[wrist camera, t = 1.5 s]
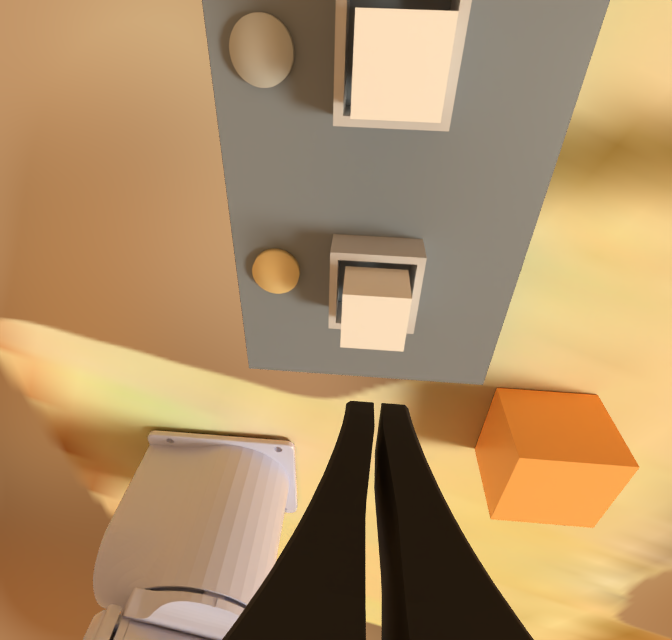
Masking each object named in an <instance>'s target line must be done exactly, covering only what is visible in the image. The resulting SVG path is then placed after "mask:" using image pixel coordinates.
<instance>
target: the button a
mask: <svg viewBox="0 0 672 640" xmlns="http://www.w3.org/2000/svg"><path fill="white" fill-rule="evenodd" d="M411 302H412V295H411V287H410V279H409V272H408V270H402V269H385V268H369V267H352V266H346V267H345V276H344V285H343V294H342V317H341V339H340V347H343V348H358V349H372V350H387V351H401V352H403V351H404V345H405V339H406V333H407V327H408V321H409V314H410V308H411Z"/></svg>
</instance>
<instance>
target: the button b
mask: <svg viewBox="0 0 672 640" xmlns="http://www.w3.org/2000/svg"><path fill="white" fill-rule="evenodd" d="M458 13H459V11H443V10H414V9H386V8H357V7H355V25H354V47H353V70H352V92H351V115H350V119H364V120H385V121H407V122H429V123H441V117H442V111H443V105H444V99H445V93H446V87H447V80H448V74H449V68H450V62H451V56H452V50H453V44H454V37H455V31H456V25H457V19H458Z"/></svg>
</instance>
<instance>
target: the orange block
mask: <svg viewBox="0 0 672 640" xmlns="http://www.w3.org/2000/svg"><path fill="white" fill-rule="evenodd" d="M475 452H476V457H477V461H478V466H479V470H480V474H481V479H482V483H483V487H484V492H485V496H486V501H487V505H488V509H489V514H490V518H491V519H496V520H508V521H520V522H531V523H543V524H555V525H567V526H579V527H591V528H593V527H594V526H595V525H596V524H597V522H598V521H599V520H600V518H601V517H602V516H603V514H604V513H605V512H606V510H607V509H608V508H609V507H610V505H611V504H612V503H613V501H614V500H615V499H616V497H617V496H618V495H619V493H620V492H621V491H622V490H623V488H624V487H625V486H626V484H627V483H628V482H629V480H630V479H631V478H632V476H633V475H634V474H635V473H636V471H637V470H638V469H639V466H638V464H637V462H636V460H635V459H634V457H633V455H632V454H631V452H630V450H629V448H628V447H627V445H626V443H625V441H624V440H623V438H622V436H621V434H620V433H619V431H618V429H617V428H616V426H615V424H614V422H613V421H612V419H611V417H610V415H609V414H608V412H607V410H606V408H605V407H604V405H603V403H602V402H601V400H600V398H599V396H598V395H591V394H577V393H563V392H549V391H535V390H521V389H507V388H497V389H496V391H495V394H494V397H493V400H492V402H491V405H490V408H489V411H488V414H487V416H486V419H485V422H484V425H483V427H482V430H481V433H480V436H479V439H478V441H477V444H476V447H475Z"/></svg>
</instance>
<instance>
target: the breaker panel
mask: <svg viewBox="0 0 672 640" xmlns="http://www.w3.org/2000/svg"><path fill="white" fill-rule="evenodd" d="M609 2H610V0H202V4H203V12H204V20H205V28H206V35H207V42H208V51H209V59H210V67H211V74H212V82H213V90H214V98H215V106H216V113H217V121H218V129H219V137H220V145H221V152H222V160H223V167H224V176H225V184H226V192H227V199H228V207H229V214H230V223H231V231H232V238H233V246H234V254H235V262H236V269H237V277H238V285H239V293H240V301H241V308H242V316H243V324H244V332H245V340H246V348H247V355H248V363H249V368H253V369H268V370H282V371H295V372H309V373H324V374H338V375H353V376H365V377H380V378H395V379H407V380H421V381H435V382H449V383H463V384H477V385H483V383H484V380H485V377H486V374H487V371H488V368H489V365H490V362H491V359H492V356H493V353H494V350H495V347H496V344H497V341H498V338H499V335H500V332H501V329H502V326H503V323H504V319H505V316H506V313H507V310H508V307H509V304H510V301H511V298H512V295H513V292H514V289H515V286H516V283H517V280H518V277H519V274H520V271H521V268H522V265H523V262H524V259H525V256H526V253H527V250H528V247H529V244H530V241H531V238H532V235H533V232H534V229H535V226H536V223H537V220H538V217H539V214H540V211H541V207H542V204H543V201H544V198H545V195H546V192H547V189H548V186H549V183H550V180H551V177H552V174H553V171H554V168H555V165H556V162H557V159H558V156H559V153H560V150H561V147H562V144H563V141H564V138H565V135H566V132H567V129H568V126H569V123H570V120H571V117H572V114H573V111H574V108H575V105H576V102H577V99H578V95H579V92H580V89H581V86H582V83H583V80H584V77H585V74H586V71H587V68H588V65H589V62H590V59H591V56H592V53H593V50H594V47H595V44H596V41H597V38H598V35H599V32H600V29H601V26H602V23H603V20H604V17H605V14H606V11H607V8H608V5H609ZM355 7H357V8H386V9H414V10H443V11H459V13H458V19H457V25H456V31H455V37H454V44H453V50H452V56H451V62H450V68H449V74H448V80H447V87H446V93H445V99H444V105H443V111H442V117H441V123H429V122H407V121H385V120H364V119H350V115H351V92H352V70H353V47H354V25H355ZM346 266H352V267H369V268H385V269H402V270H408V272H409V279H410V287H411V295H412V302H411V308H410V314H409V321H408V327H407V333H406V339H405V345H404V351H403V352H401V351H387V350H372V349H358V348H343V347H340V339H341V317H342V294H343V285H344V276H345V267H346Z"/></svg>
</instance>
